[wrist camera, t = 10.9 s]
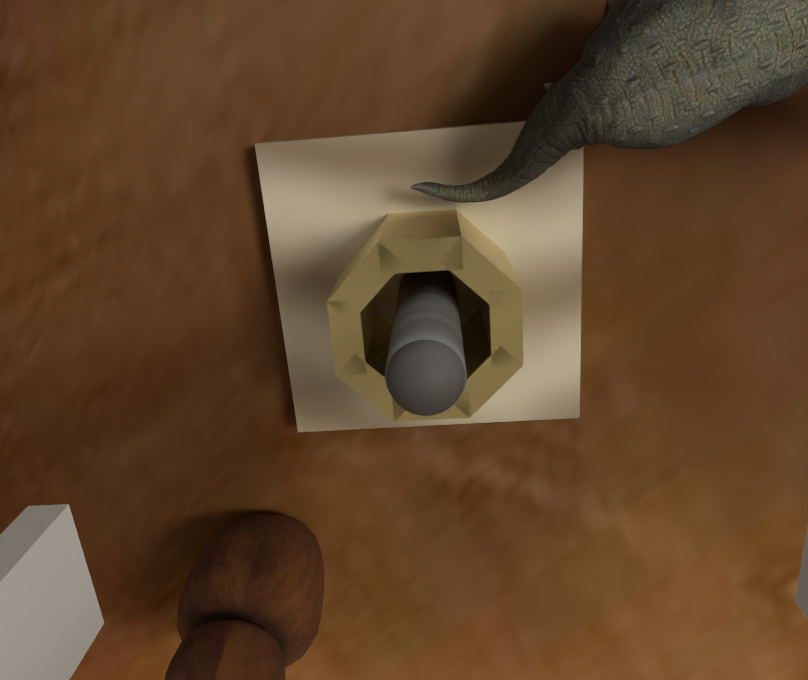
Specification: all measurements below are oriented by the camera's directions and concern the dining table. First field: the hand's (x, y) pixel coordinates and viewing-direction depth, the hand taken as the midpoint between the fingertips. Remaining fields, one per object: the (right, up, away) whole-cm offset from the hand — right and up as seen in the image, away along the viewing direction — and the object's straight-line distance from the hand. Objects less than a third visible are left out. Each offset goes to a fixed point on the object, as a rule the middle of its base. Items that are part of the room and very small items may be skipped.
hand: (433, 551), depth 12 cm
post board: (+1, +7, +20) cm, 21 cm away
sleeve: (+1, +6, +19) cm, 20 cm away
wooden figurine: (-8, -7, +25) cm, 28 cm away
